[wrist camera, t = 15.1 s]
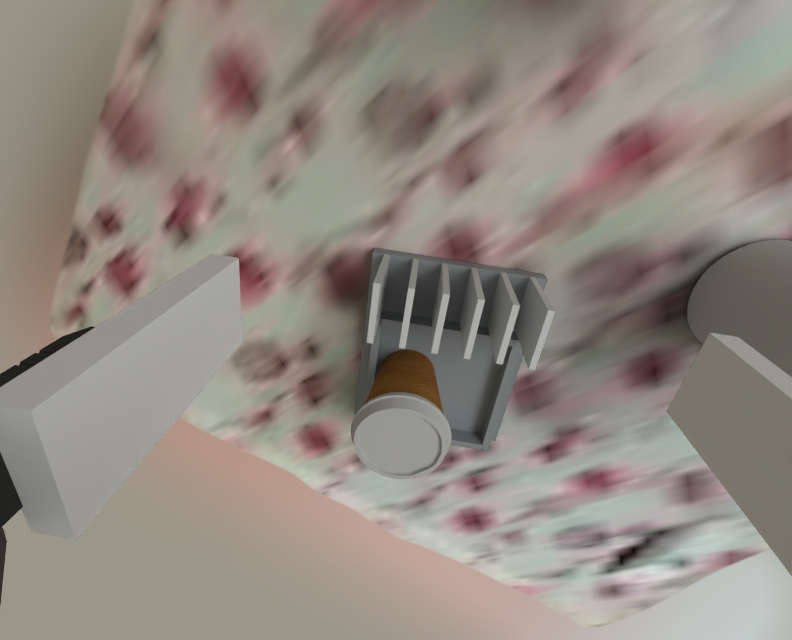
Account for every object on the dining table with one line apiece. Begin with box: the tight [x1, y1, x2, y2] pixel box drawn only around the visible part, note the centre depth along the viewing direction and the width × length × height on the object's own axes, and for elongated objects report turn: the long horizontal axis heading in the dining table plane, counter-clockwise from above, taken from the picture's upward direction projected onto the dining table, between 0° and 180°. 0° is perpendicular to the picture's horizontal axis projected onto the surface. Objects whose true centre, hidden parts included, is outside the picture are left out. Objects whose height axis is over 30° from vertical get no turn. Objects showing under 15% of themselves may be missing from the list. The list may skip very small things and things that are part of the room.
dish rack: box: [355, 248, 555, 451], centre depth 44 cm, size 22×18×10 cm
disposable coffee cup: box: [351, 350, 452, 479], centre depth 43 cm, size 10×10×12 cm
